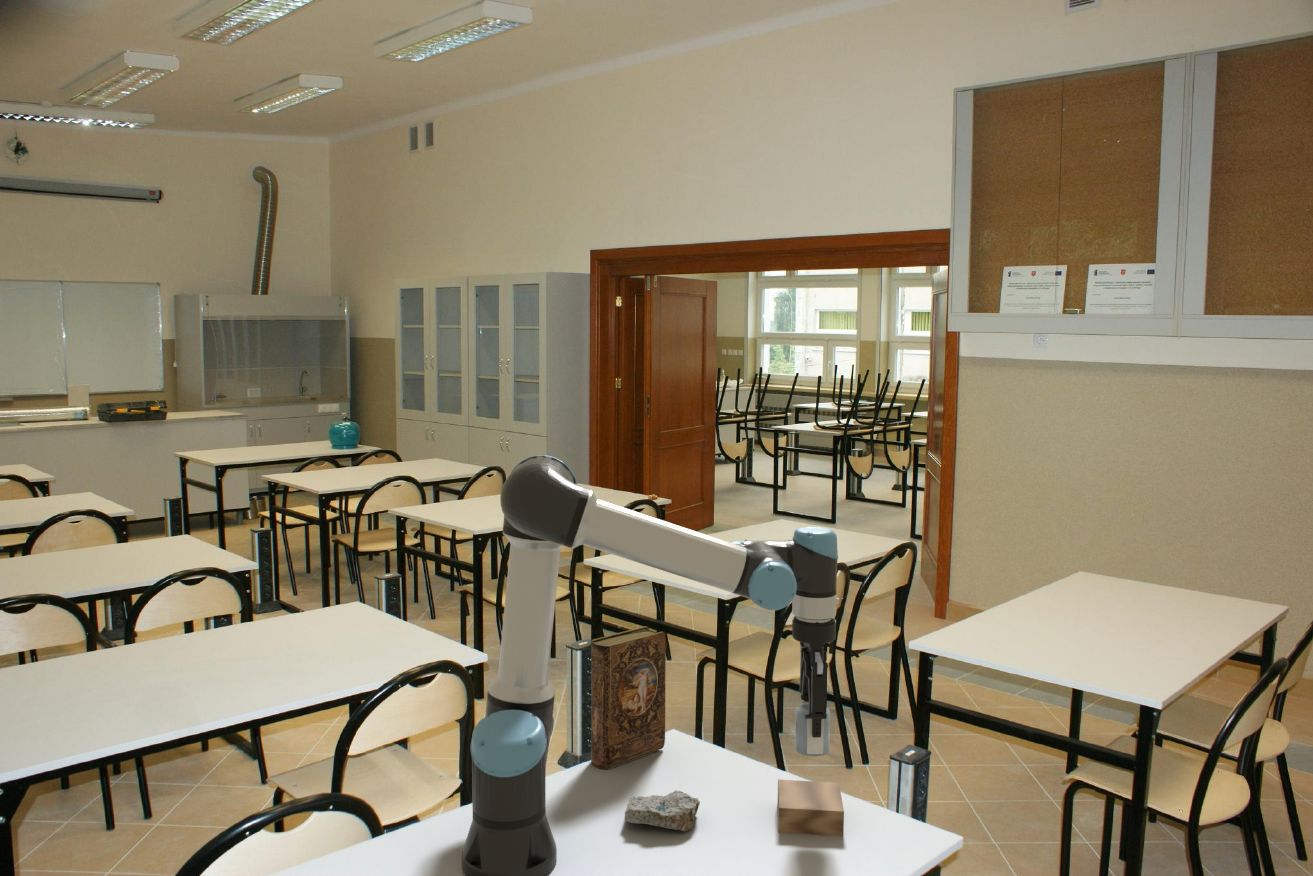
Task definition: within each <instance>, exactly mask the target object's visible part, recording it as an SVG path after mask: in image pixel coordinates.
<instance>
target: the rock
mask: <svg viewBox="0 0 1313 876" xmlns="http://www.w3.org/2000/svg"><path fill="white" fill-rule="evenodd" d="M700 804H701V803H700V800H699V798H698V797H693V796H691V795H690V794H687V793H686V792H683V791H681V790H674V791H673V792H670V793H668V794H666V795H664V796H663V795H654V794H653V795H650V796H642V795H638V796H631V797H629V798H628V803H627V807H626V809H625V810H624V821H625V822H627V823H631V824H640V825H641V824H646V825H650V826H655V827H660V828H665V829H668V830H674V831H675V830H676V831H682V832H687V831H689V830H690V829H692V827H694V825H695V820H696V815H697V813H698V810H699V806H700Z"/></svg>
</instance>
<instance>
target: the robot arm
mask: <svg viewBox="0 0 1313 876" xmlns="http://www.w3.org/2000/svg"><path fill="white" fill-rule="evenodd" d="M500 491H501V492H500V507H501V511H502V514H503V525H502V526H503V527H502V534H503V536H504V537H505V538H506V539H507V540H508V541H509V544H510V547H509V554H508V555H509V556H508V566H507V577H506V578H507V579H506V589H505V590H506V591H505V599H504V609H503V619H502V620H503V621H502V629H501V631H502V632H501V641H500V651H499V652H500V653H499V662H498V671H497V672H498V673H497V677H496V679H494V680H493V681H492V682H491V683H489V684H488V686H487V695H486V705H485V714H484V715H485V716H484V717H483V718H481V719H480V720H479V721H478V722H477V723H476V725H475V726H474V727H473V731H472V734H471V735H472V736H471V740H470V741H471V742H470V755H471V775H472V776H471V781H472V783H471V787H472V788H471V790H472V791H471V792H472V793H471V795H472V796H471V797H472V799H471V800H472V804H471V805H472V820H471V823H470V827H469V829H468V833H467V835H466V836H467V837H466V840H465V842H464V845H463V849H462V853H461V869H462V870H463V871H462V873H463V875H464V874H465V875H464V876H549V875H550V874H551V873H552V872H553V871H554V869H555V867H556V865H557V863H558V862H557V855H558V854H557V853H558V851H557V850H558V849H557V844H556V841H555V838H554V835H553V832H552V829H551V826H550V824H549V820H548V818H547V814H546V808H547V807H546V803H547V802H546V799H547V798H546V795H547V794H546V771H547V770H546V769H547V761H548V754H549V747H550V741H551V737H552V735H553V731H554V725H555V724H554V719H555V718H554V709H555V708H554V706H555V698H556V697H555V695H556V690H555V687H554V686H553V685H552V684H551V683H550V682H549V679H548V677H549V668H550V667H549V666H550V659H551V648H552V639H553V629H554V628H553V627H554V619H555V611H556V610H555V609H556V598H557V589H558V578H559V568H560V559H561V549H562V547H563V546H564V547H567V548H570V549H575V548H577V547H579V546H582V545H583V546H586V547H589V548H592V549H595V550H597V551H601V552H604V553H607V554H610V555H612V556H613V555H614V556H617V557H620V558H623V559H625V560H629V561H631V562H636V563H638V564H641V565H644V566H647V567H651V568H654V569H658V570H660V571H663V572H666V573H670V574H673V575H676V576H679V577H681V578H685V579H688V580H692V581H695V582H697V583H700V584H704V585H706V586H709V587H713V588H716V589H720V590H723V591H725V592H729V593H732V594H735V595H737V596H738V597H739V596H741V597H743V598H747V599H749V600H752V602H753V603H754V604H756V606H758V607H760V608H762V609H764V610H766V611H779V610H783V609H784V608H786V607H787V606H789V605H790V604H791V603H792V604H791V606H792V607H791V609H792V610H791V613H792V615H793V617H792V619H791V620H792V621H791V622H792V623H791V624H792V625H791V626H792V627H791V628H792V629H791V635H792V638H793V639H794V640H795V641H797V642H798V643H799V646H800V651H799V652H800V662H799V663H800V666H799V667H800V669H799V689H798V691H799V693H800V699H801V702H800V703H801V705H809V715H805V719H807V754H823V737H824V719H826V718H827V714H826V711H827V708H828V707H827V706H828V705H827V704H828V703H827V702H828V700H827V699H828V698H827V693H828V692H827V691H828V690H827V689H828V686H827V685H828V683H827V682H828V681H827V680H828V677H827V676H828V668H829V663H828V661H827V658H828V655H827V654H828V653H827V651H825V649H824V648H825V647H824V646H825V645H826V644H830V643H832V642H834V641H835V640H836V637H837V635H836V634H837V620H836V619H835V617H836V615H837V604H839V603H840V598H839V597H837V581H838V579H837V577H838V576H837V575H838V560H839V553H838V537H837V534H836V532H834V530H832V529H829V528H827V527H820V526H806V527H802V526H801V527H798V528H796V529H795V530H794V531H793V537H792V539H788V540H747V539H743V540H734V541H732V540H731V541H727V540H723V539H720V538H717V537H715V536H711V535H708V534H705V533H702V532H699V531H696V530H693V529H690V528H687V527H684V526H681V525H677V524H674V523H672V522H669V521H666V520H664V519H663V520H662V519H660V518H658V517H657V518H656V517H653V516H650V515H647V514H644V513H641V512H638V511H636V510H632V509H630V508H626V507H623V506H619V505H617V504H614V503H611V502H608V501H604V500H602V499H599V498H597V497H596V494H595V492H594V491H593V489H589V488H586V487H583V486H580V485H578V484H577V479H576V476H575V474H574V472H573V471H572V470H571V468H570V467H569V466H568V464H567V463H565V462H564V461H562V460H561V459H559V458H557V457H554V456H550V455H544V454H541V455H540V454H539V455H534V456H529V457H527V458H524V459H523V460H521V461H519V463H517V465H515V466H514V468H513V469H512V470H511V472H510V474H509V475H508V476H507V478H506V479H505V481H504V483H503V484H502V488H501V490H500ZM801 705H800V706H801Z"/></svg>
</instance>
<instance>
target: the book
mask: <svg viewBox="0 0 1313 876" xmlns="http://www.w3.org/2000/svg"><path fill="white" fill-rule="evenodd" d="M590 645H591V646H590V647H591V648H590V649H591V651H590V659H591V661H590V671H591V672H590V673H591V674H590V678H591V679H590V680H591V683H590V690H591V691H590V694H591V695H590V701H591V702H590V703H591V704H590V707H591V708H590V720H591V721H590V725H591V727H590V731H591V732H590V764H591V765H592V766H593V767H595V768H598V769H601V770H610V769H613V768H615V767H619V766H620V765H621V766H622V765H624V764H626V763H629V762H632V761H634V760H637V759H639V758H643V757H645V756H648V755H650V754H653V753H655V752H657V751H659V750H660V751H661V750H662V749H663V748H664V746H665V743H666V664H667V663H666V659H667V657H666V656H667V655H666V654H667V652H666V651H667V649H666V645H667V644H666V633H665V632H664V631H659V632H658V631H653V630H652V629H651V630H650V629H649V627H648V626H642V627H638V628H633V629H629V630H626V631H621V632H617V633H614V634H610V635H606V636H603V637H598V638H593V639H592V640H591V642H590Z"/></svg>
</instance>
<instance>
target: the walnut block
mask: <svg viewBox="0 0 1313 876" xmlns="http://www.w3.org/2000/svg"><path fill="white" fill-rule="evenodd" d="M842 799H843V798H842V792H841V786H840V782H834V781H833V782H832V781H831V782H830V781H818V780H817V781H816V780H815V781H813V780H812V781H811V780H798V779H797V780H795V779H794V780H793V779H780V778H779V779H777V822H778V824H777V825H778V826H777V827H778V833H780V834H795V835H799V834H800V835H811V836H812V835H813V836H814V835H815V836H831V837H844V831H845V830H844V828H845V827H844V825H845V824H844V823H845V809H844V803H843V800H842Z"/></svg>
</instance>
